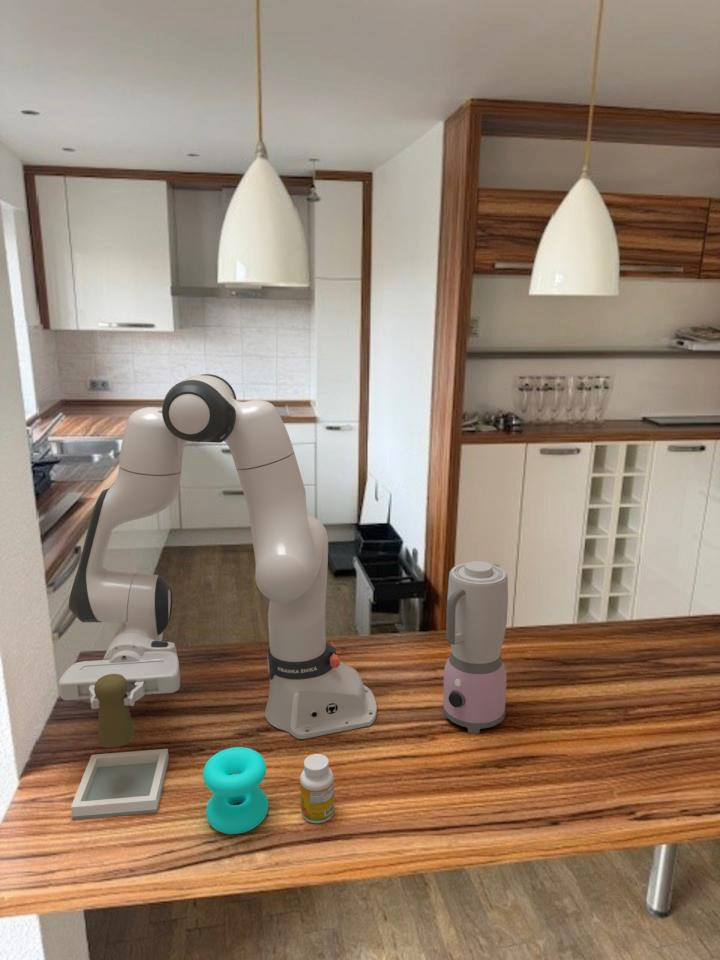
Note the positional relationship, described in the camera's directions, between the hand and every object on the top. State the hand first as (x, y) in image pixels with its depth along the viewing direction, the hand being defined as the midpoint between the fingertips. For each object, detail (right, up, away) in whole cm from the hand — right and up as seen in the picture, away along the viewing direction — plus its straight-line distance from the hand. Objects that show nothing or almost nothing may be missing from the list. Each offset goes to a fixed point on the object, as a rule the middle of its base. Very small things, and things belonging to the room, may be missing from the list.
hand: (111, 703), depth 118 cm
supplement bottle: (+34, -18, -1) cm, 38 cm away
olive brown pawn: (0, -7, +2) cm, 7 cm away
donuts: (+21, -18, -2) cm, 28 cm away
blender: (+63, -10, +23) cm, 67 cm away
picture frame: (0, -16, +5) cm, 17 cm away
